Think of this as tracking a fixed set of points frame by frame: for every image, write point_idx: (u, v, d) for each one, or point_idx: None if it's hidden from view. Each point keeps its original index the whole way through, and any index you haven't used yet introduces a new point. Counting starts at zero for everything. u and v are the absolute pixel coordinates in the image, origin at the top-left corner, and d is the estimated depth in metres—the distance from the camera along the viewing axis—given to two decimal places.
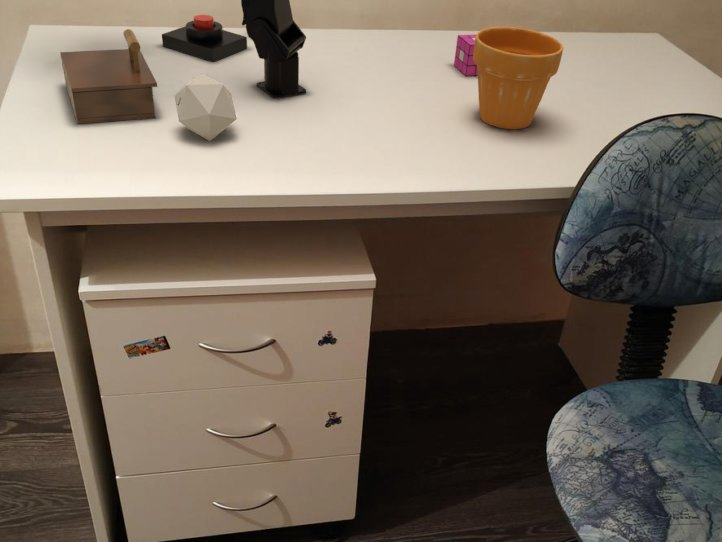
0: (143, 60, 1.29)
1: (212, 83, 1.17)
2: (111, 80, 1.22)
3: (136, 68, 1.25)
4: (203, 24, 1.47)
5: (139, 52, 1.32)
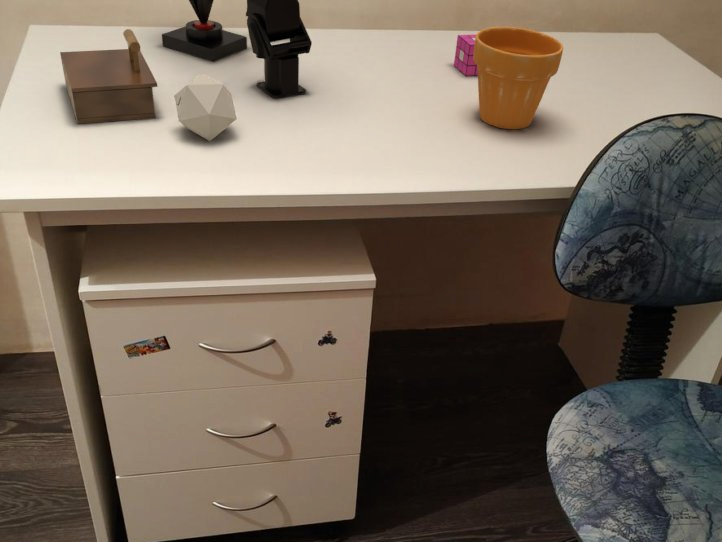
0: (143, 60, 1.29)
1: (212, 83, 1.17)
2: (111, 80, 1.22)
3: (136, 68, 1.25)
4: None
5: (139, 52, 1.32)
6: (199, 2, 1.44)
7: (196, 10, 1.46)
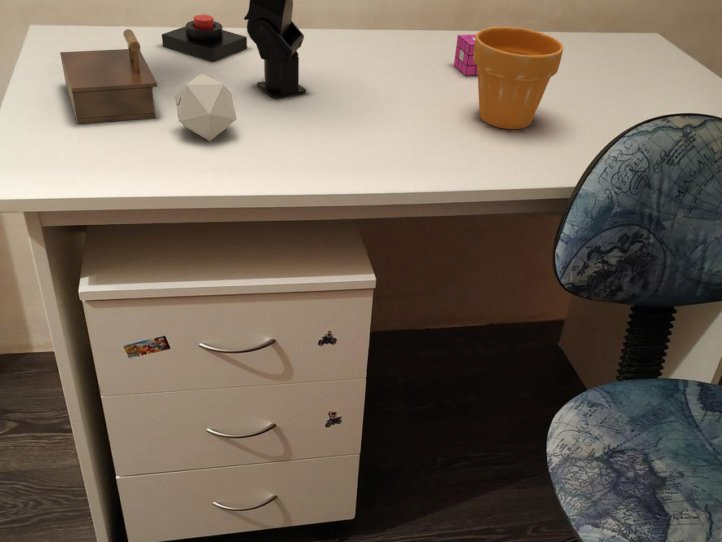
0: (143, 60, 1.29)
1: (212, 83, 1.17)
2: (111, 80, 1.22)
3: (136, 68, 1.25)
4: (203, 24, 1.47)
5: (139, 52, 1.32)
6: None
7: None
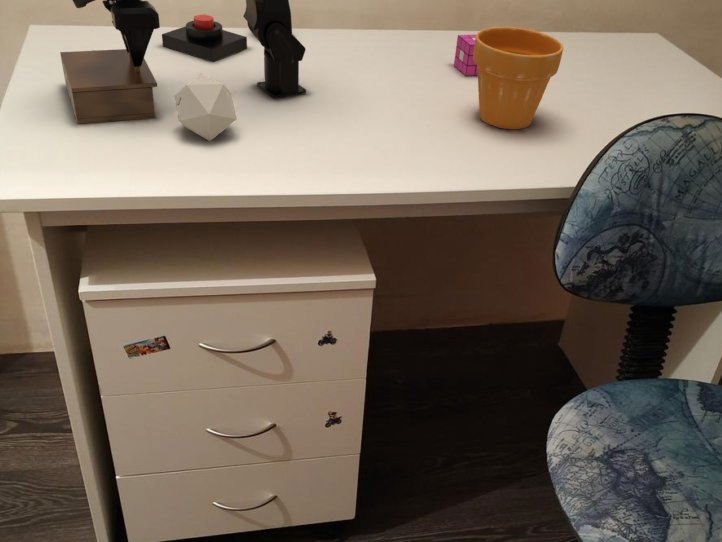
0: (143, 60, 1.29)
1: (212, 83, 1.17)
2: (111, 80, 1.22)
3: (136, 68, 1.25)
4: (203, 24, 1.47)
5: None
6: None
7: None
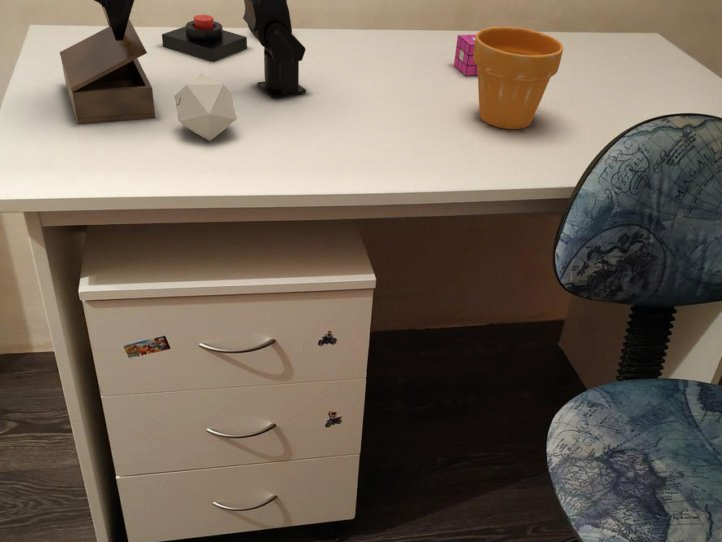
0: (132, 28, 1.25)
1: (212, 83, 1.17)
2: (104, 64, 1.20)
3: (124, 41, 1.22)
4: (203, 24, 1.47)
5: (128, 21, 1.28)
6: None
7: None
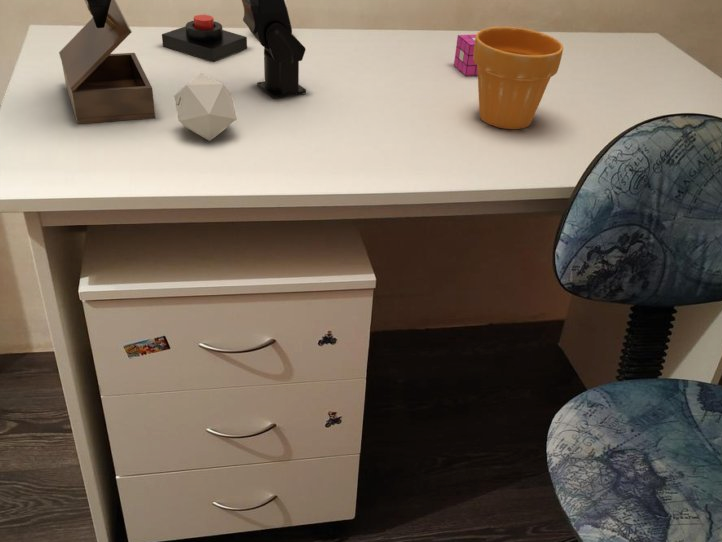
0: (116, 9, 1.23)
1: (212, 83, 1.17)
2: (96, 55, 1.19)
3: (110, 25, 1.19)
4: (203, 24, 1.47)
5: (113, 2, 1.25)
6: None
7: None
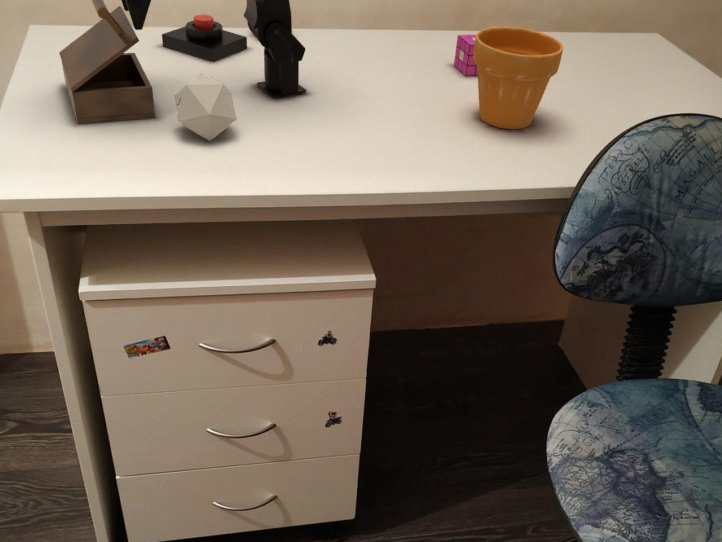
0: (124, 17, 1.24)
1: (212, 83, 1.17)
2: (100, 59, 1.19)
3: (117, 32, 1.20)
4: (203, 24, 1.47)
5: (120, 10, 1.26)
6: None
7: None
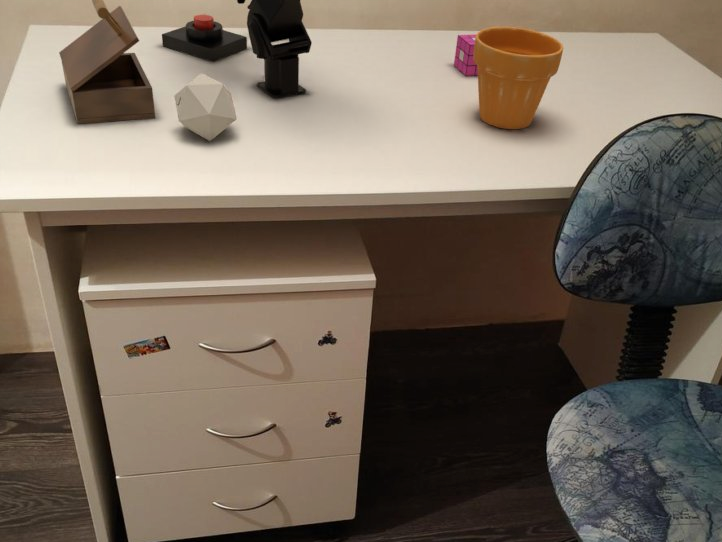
0: (124, 17, 1.24)
1: (212, 83, 1.17)
2: (100, 59, 1.19)
3: (117, 32, 1.20)
4: (203, 24, 1.47)
5: (120, 10, 1.26)
6: None
7: None
